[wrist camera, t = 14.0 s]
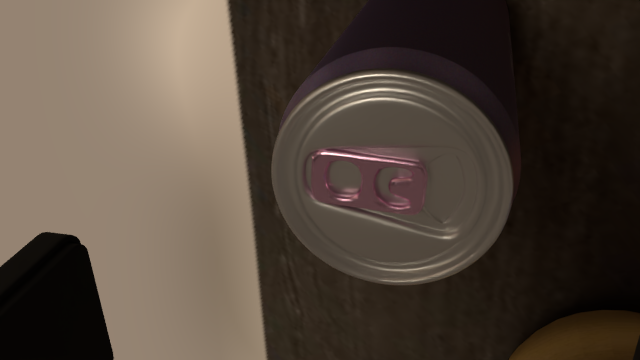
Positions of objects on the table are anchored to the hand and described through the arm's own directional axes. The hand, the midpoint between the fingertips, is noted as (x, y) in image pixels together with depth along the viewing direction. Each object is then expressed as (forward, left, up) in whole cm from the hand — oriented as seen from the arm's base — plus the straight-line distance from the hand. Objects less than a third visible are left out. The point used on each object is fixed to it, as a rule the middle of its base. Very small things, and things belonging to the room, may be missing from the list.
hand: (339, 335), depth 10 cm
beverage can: (0, 0, -20) cm, 20 cm away
